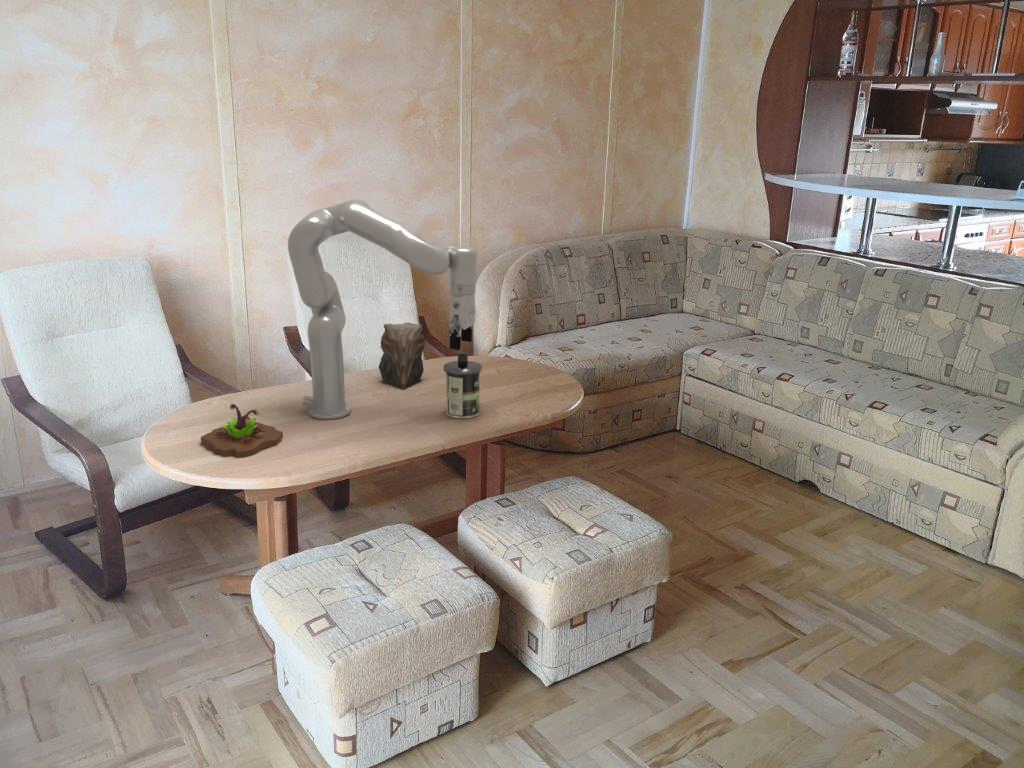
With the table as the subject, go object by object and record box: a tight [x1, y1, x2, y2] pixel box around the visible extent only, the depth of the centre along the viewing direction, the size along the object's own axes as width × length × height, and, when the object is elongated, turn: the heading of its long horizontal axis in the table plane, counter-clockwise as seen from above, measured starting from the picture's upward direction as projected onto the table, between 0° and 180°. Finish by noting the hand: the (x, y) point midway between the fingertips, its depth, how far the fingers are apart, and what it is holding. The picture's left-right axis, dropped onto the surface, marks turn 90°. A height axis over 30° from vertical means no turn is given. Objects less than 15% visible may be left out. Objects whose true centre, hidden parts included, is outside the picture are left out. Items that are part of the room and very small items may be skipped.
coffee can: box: [445, 372, 481, 420], centre depth 258 cm, size 10×10×14 cm
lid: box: [443, 351, 483, 375], centre depth 255 cm, size 12×12×5 cm
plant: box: [200, 403, 284, 459], centre depth 234 cm, size 20×20×11 cm
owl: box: [378, 322, 425, 391], centre depth 284 cm, size 13×13×20 cm
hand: (460, 345), depth 253 cm, fingers open, 9 cm apart
